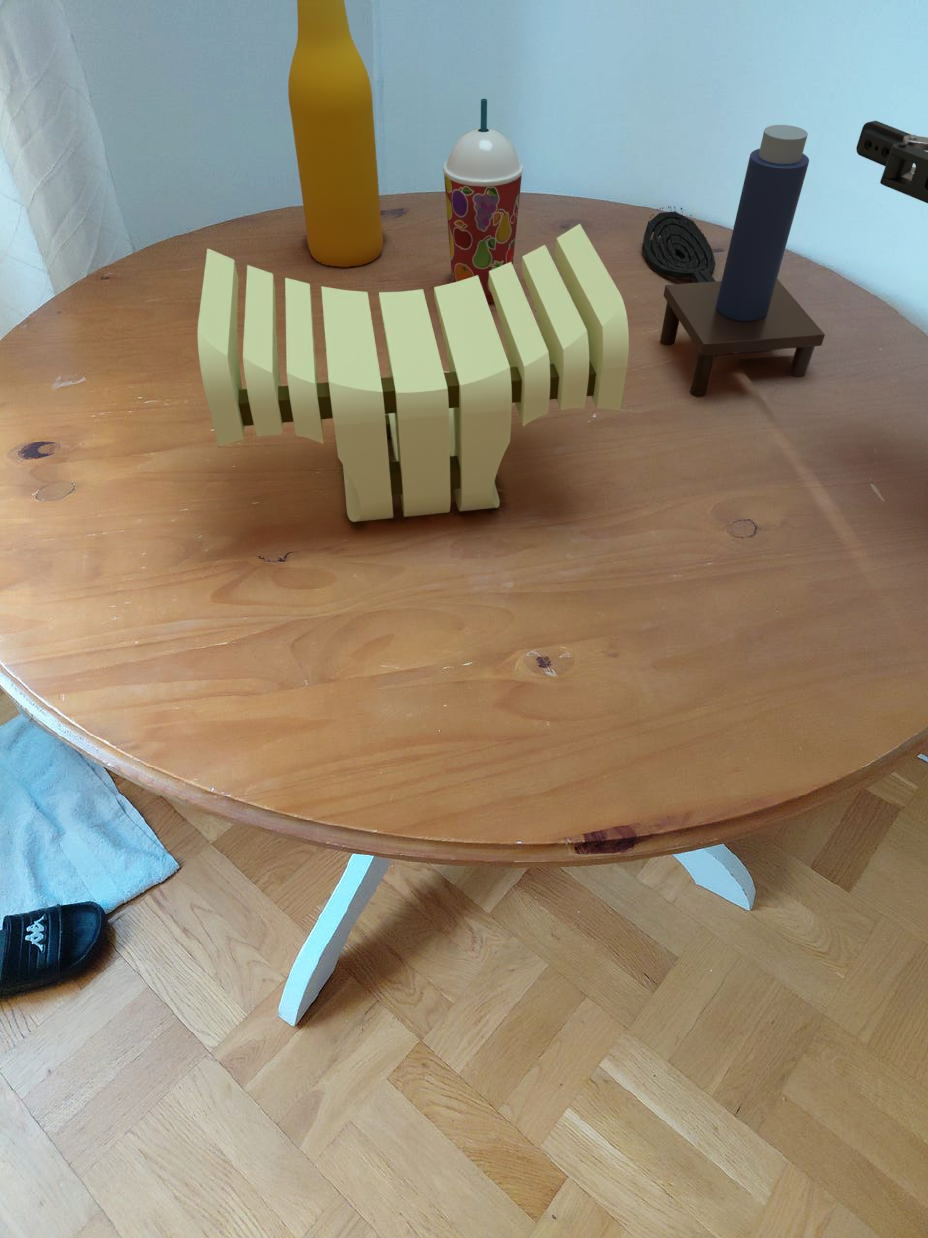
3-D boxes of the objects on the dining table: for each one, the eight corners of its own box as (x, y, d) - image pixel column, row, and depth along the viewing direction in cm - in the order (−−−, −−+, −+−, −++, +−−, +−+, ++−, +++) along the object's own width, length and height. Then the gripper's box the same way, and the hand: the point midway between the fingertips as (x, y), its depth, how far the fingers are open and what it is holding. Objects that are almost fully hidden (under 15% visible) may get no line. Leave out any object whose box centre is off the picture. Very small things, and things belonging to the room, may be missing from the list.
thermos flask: (756, 295, 87) (801, 120, 75) (775, 319, 83) (826, 140, 72) (708, 298, 86) (747, 123, 74) (726, 323, 83) (769, 143, 71)
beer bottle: (294, 251, 107) (252, -36, 86) (353, 229, 112) (326, -50, 90) (339, 276, 103) (306, -21, 81) (398, 252, 107) (381, -36, 86)
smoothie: (509, 273, 103) (516, 84, 88) (524, 306, 98) (534, 110, 83) (440, 279, 102) (436, 88, 87) (451, 312, 97) (449, 115, 82)
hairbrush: (691, 312, 91) (637, 205, 107) (684, 343, 93) (632, 234, 109) (767, 309, 91) (702, 202, 107) (758, 340, 94) (695, 232, 110)
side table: (761, 330, 94) (776, 276, 89) (806, 389, 86) (825, 334, 81) (655, 338, 93) (665, 284, 88) (691, 399, 85) (703, 343, 80)
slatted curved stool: (245, 551, 70) (194, 352, 57) (249, 437, 80) (207, 248, 67) (604, 515, 73) (634, 318, 60) (562, 409, 83) (579, 223, 70)
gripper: (1002, 286, 55) (818, 196, 65) (1139, 238, 60) (948, 161, 69) (1062, 162, 50) (851, 83, 59) (1208, 119, 54) (990, 53, 64)
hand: (904, 125), depth 64 cm, fingers open, 8 cm apart
